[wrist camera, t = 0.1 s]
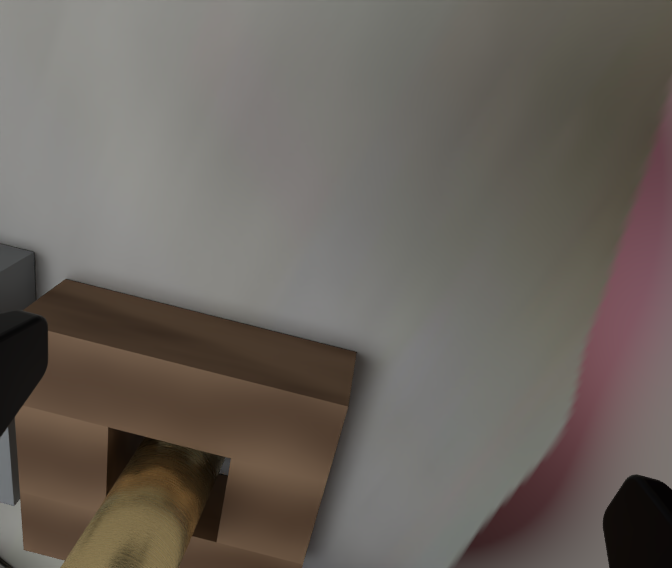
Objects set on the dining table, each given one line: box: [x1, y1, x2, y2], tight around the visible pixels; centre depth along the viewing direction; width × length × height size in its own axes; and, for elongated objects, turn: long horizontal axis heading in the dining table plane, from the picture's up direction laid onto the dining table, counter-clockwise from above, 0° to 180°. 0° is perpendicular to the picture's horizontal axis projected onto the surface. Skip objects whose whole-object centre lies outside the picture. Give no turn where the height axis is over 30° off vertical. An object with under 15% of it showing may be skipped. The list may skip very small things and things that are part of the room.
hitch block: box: [15, 279, 357, 568], centre depth 26 cm, size 14×14×4 cm
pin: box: [61, 437, 225, 568], centre depth 23 cm, size 4×4×10 cm
